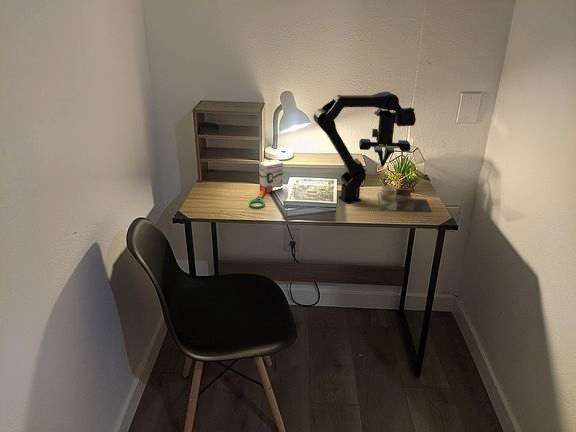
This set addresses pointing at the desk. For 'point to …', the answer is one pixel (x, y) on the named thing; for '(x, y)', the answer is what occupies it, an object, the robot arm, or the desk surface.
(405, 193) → the tunnel course
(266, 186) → the ink box
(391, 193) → the maple block
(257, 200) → the magnifying glass
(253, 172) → the desk surface
